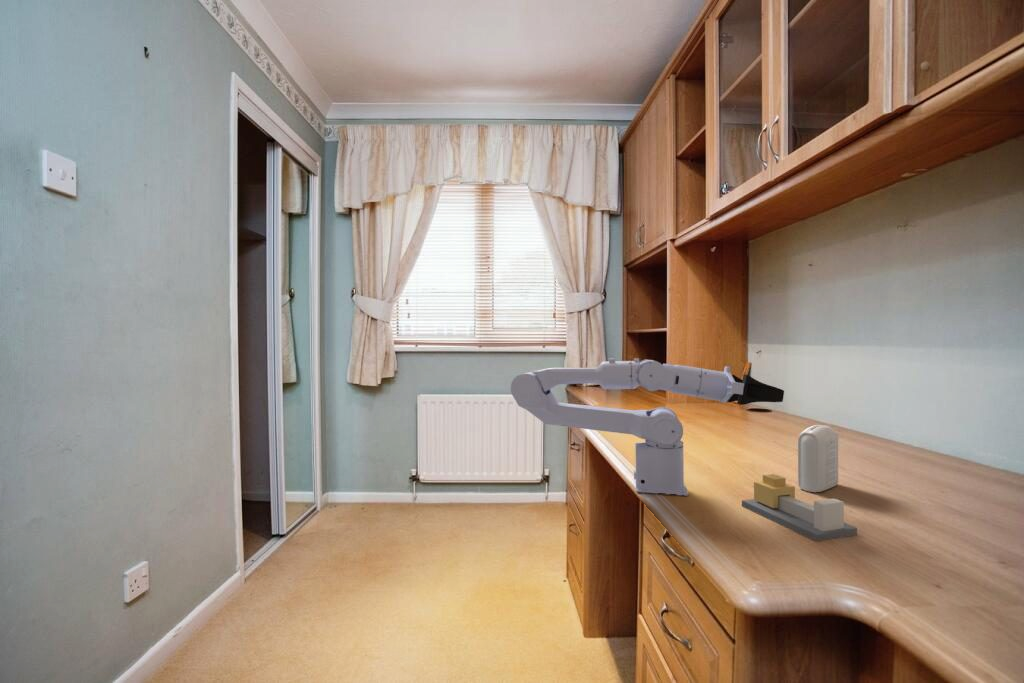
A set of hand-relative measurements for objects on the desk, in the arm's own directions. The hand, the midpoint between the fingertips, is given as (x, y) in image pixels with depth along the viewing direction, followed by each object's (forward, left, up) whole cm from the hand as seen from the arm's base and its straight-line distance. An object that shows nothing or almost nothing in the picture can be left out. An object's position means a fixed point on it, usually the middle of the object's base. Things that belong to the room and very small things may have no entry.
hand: (775, 395), depth 81 cm
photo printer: (+10, +8, -19) cm, 23 cm away
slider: (-2, -7, -18) cm, 19 cm away
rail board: (0, -10, -19) cm, 22 cm away
